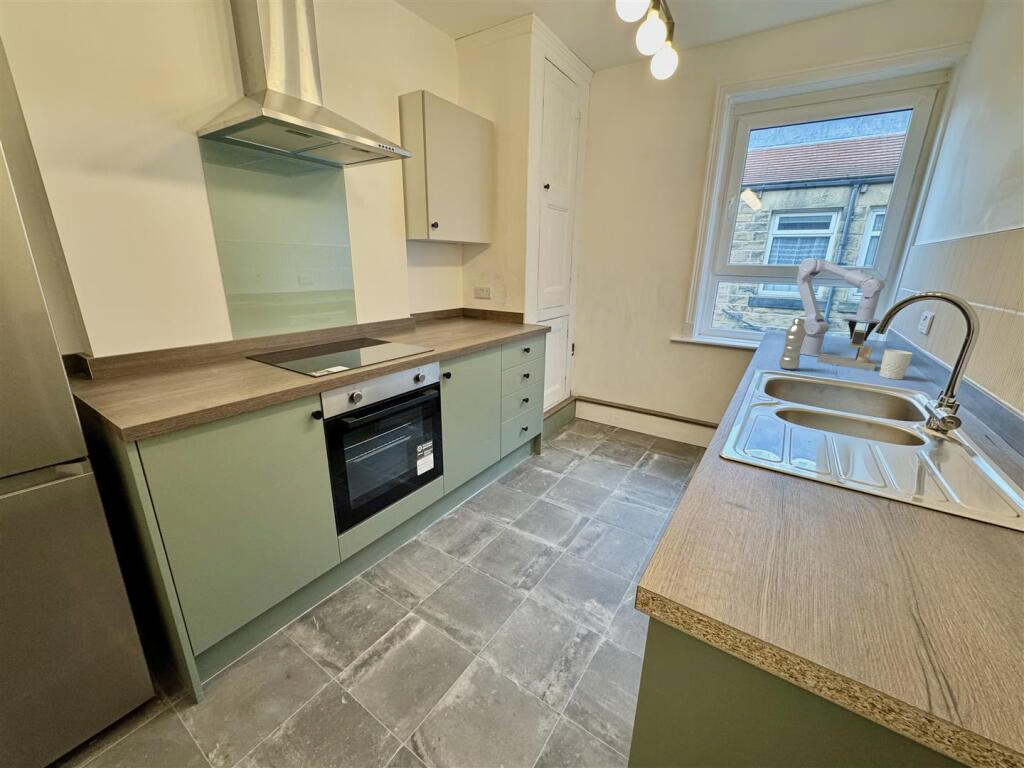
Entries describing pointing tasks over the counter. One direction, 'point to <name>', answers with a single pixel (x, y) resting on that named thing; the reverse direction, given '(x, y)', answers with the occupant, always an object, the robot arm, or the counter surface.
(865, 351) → the tan upright block
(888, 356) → the white cup
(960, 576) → the counter surface
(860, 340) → the loose finger
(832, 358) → the rail
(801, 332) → the plastic bottle
